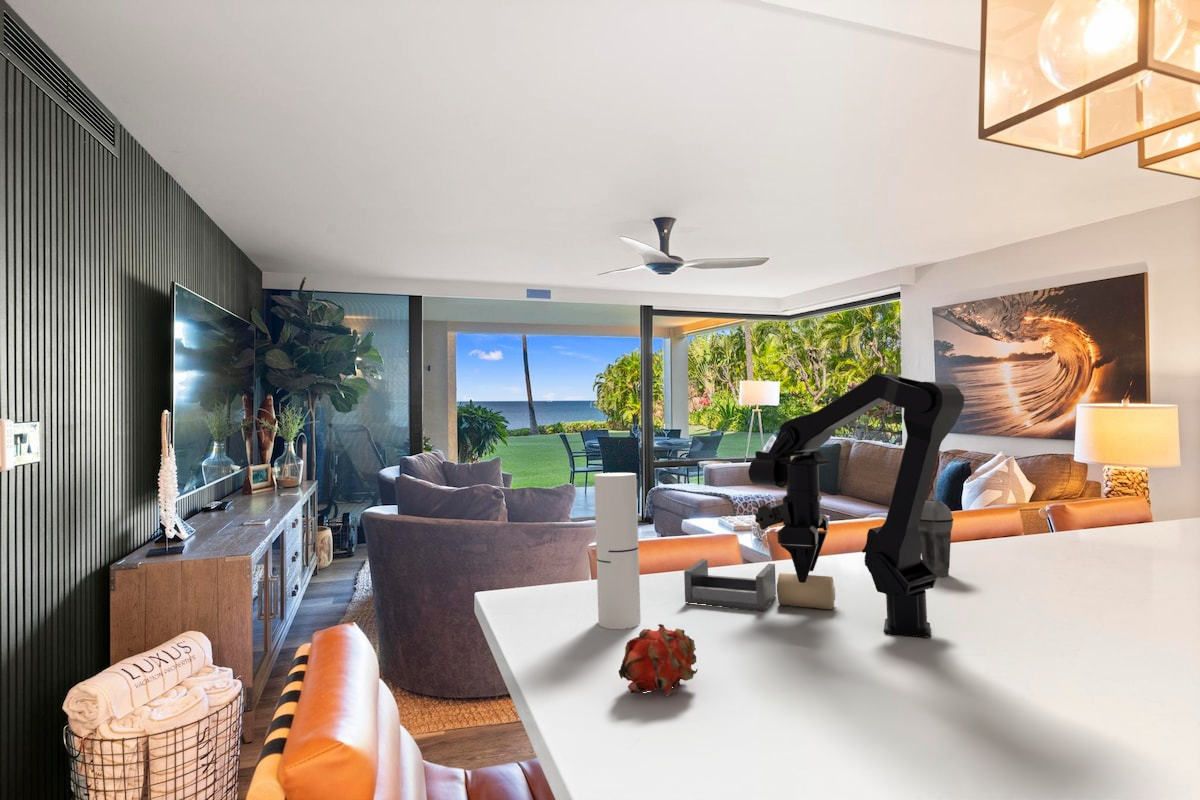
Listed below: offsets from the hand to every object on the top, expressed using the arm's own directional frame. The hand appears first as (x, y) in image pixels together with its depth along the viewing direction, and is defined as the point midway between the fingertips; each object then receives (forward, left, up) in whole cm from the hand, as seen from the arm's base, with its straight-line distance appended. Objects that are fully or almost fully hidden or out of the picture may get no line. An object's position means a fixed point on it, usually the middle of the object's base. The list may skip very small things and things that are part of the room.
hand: (806, 576), depth 119 cm
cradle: (-1, +14, -5) cm, 15 cm away
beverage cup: (+32, -21, -5) cm, 39 cm away
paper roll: (0, 0, -5) cm, 5 cm away
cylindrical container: (-21, +28, -5) cm, 35 cm away
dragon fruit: (-45, +12, -5) cm, 47 cm away
